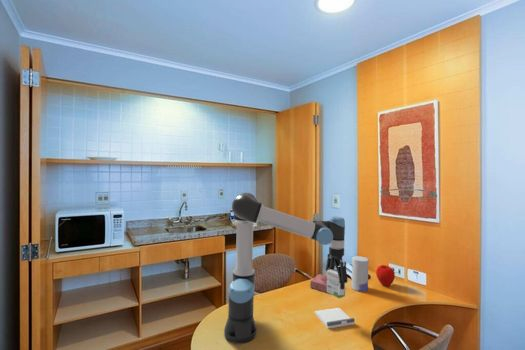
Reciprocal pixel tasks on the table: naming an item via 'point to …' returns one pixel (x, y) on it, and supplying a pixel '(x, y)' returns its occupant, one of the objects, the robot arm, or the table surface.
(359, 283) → the container
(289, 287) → the table surface
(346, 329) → the table surface
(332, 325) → the white flat box
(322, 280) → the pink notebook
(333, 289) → the ink box
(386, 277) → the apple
